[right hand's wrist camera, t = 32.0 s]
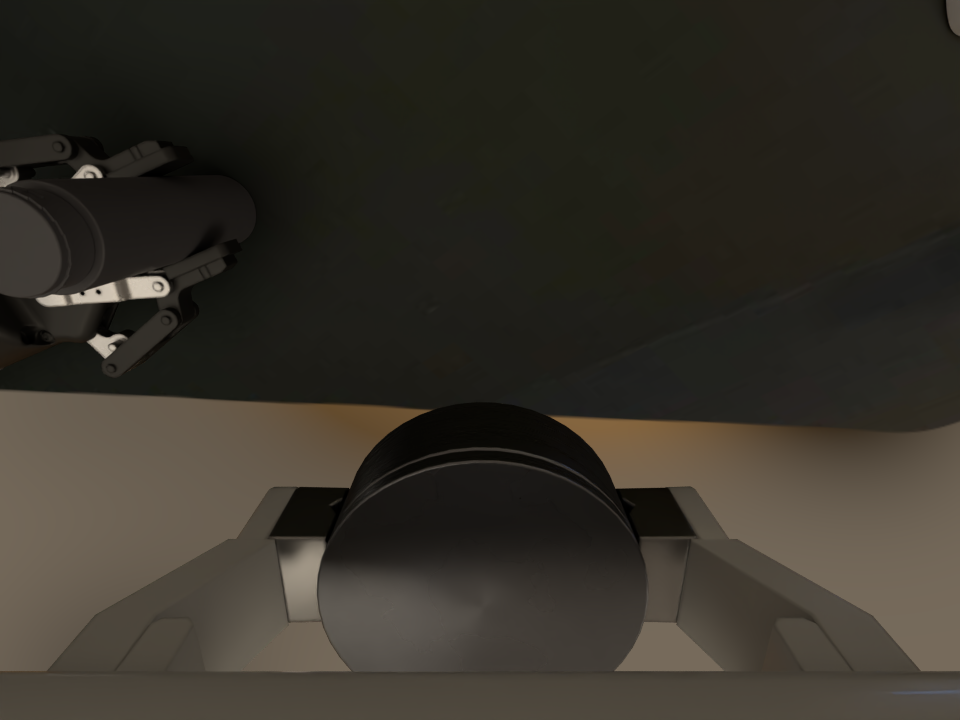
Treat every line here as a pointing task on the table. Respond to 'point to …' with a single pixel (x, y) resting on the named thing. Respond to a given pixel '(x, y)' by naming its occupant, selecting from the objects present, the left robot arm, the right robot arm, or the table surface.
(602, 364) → the table surface
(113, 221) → the dark grey cylinder
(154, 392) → the table surface
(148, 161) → the left robot arm
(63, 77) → the table surface
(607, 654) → the lid
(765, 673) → the right robot arm
